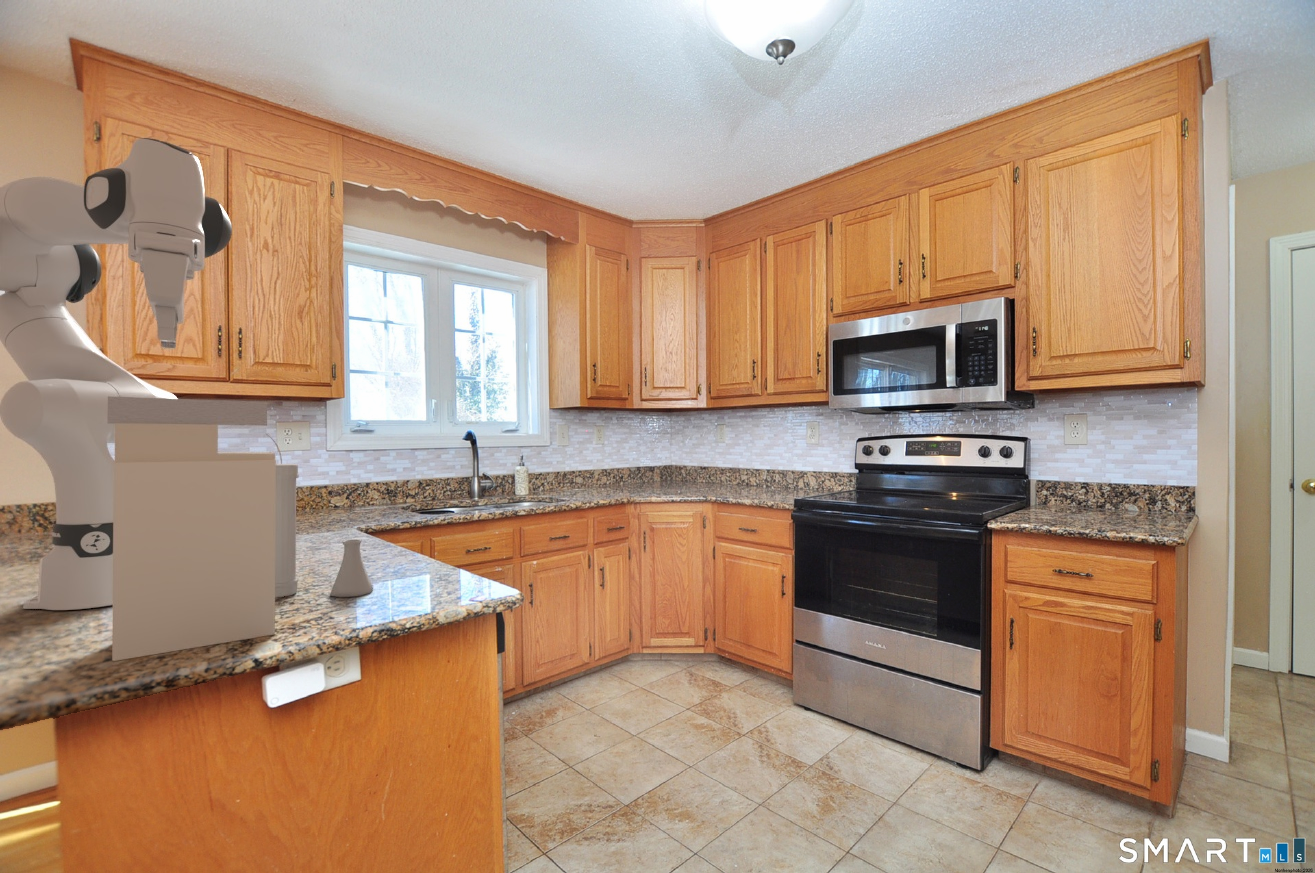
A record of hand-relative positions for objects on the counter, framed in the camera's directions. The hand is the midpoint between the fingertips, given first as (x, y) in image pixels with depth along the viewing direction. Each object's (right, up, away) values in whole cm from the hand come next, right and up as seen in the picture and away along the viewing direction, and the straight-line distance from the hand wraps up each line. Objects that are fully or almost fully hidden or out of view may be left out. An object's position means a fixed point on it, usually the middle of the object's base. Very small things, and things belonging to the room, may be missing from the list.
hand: (167, 344), depth 89 cm
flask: (+16, -44, +24) cm, 52 cm away
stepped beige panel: (+6, -43, -2) cm, 44 cm away
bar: (+5, -12, -2) cm, 13 cm away
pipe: (+3, -43, +22) cm, 49 cm away
